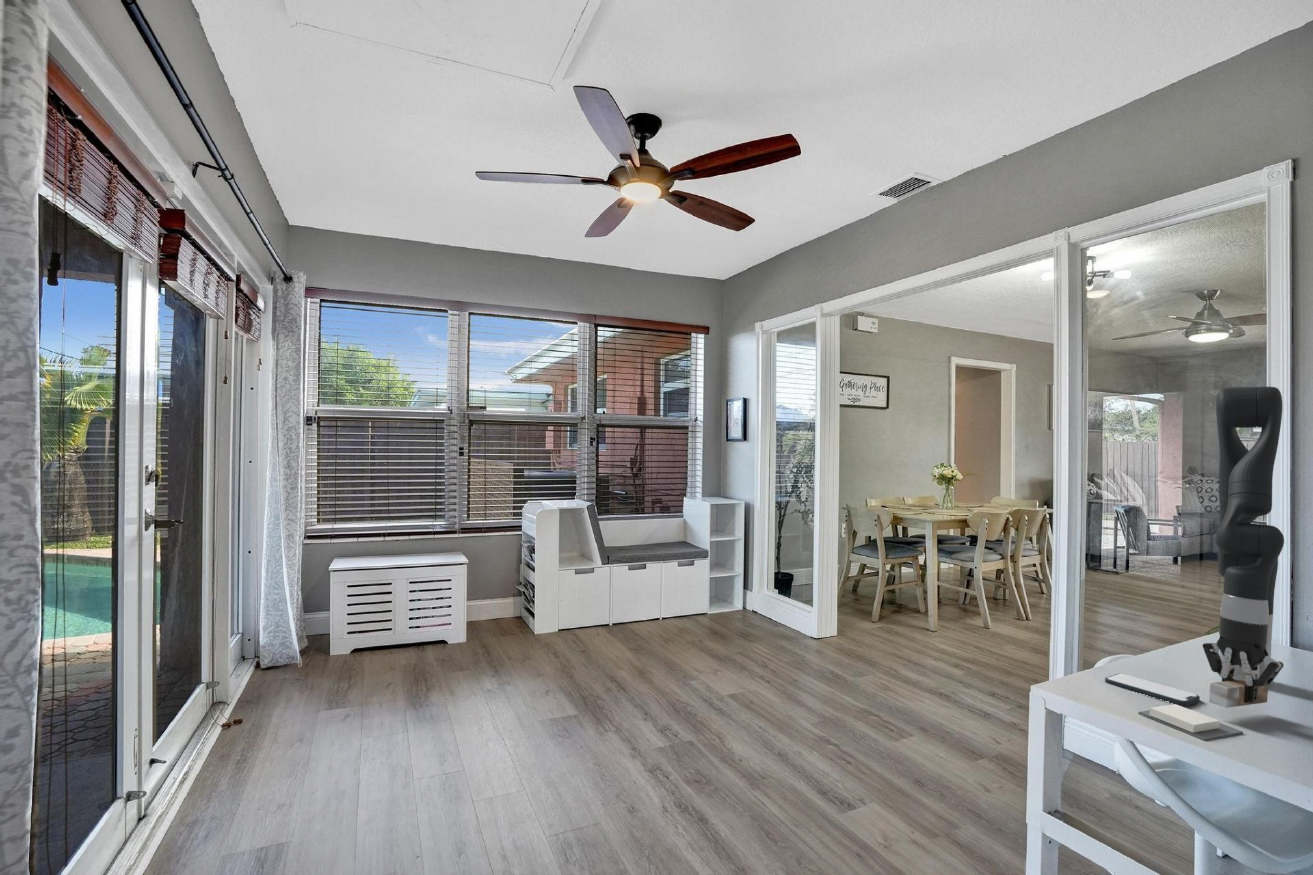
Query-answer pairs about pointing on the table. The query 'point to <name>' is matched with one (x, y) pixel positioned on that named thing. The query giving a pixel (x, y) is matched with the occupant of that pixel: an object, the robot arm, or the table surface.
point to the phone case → (1153, 689)
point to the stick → (1234, 693)
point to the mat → (1204, 735)
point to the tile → (1184, 718)
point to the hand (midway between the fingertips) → (1238, 698)
